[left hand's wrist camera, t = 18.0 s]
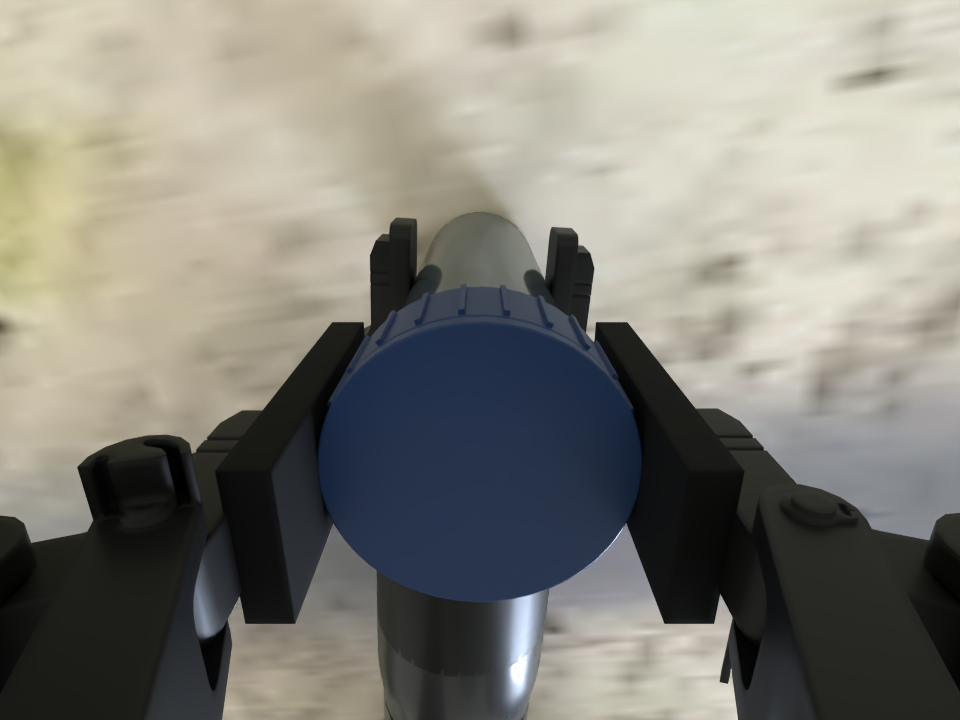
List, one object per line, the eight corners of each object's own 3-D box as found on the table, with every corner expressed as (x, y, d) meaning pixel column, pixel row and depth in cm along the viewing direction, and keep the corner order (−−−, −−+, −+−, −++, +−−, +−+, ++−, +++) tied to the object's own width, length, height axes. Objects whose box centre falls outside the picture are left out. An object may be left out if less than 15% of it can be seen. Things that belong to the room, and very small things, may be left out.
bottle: (474, 188, 25) (465, 276, 9) (554, 260, 26) (664, 445, 10) (406, 270, 26) (298, 467, 11) (484, 335, 27) (491, 598, 12)
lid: (288, 364, 12) (244, 418, 9) (541, 228, 11) (557, 251, 8) (431, 562, 13) (421, 645, 11) (658, 462, 12) (696, 531, 10)
